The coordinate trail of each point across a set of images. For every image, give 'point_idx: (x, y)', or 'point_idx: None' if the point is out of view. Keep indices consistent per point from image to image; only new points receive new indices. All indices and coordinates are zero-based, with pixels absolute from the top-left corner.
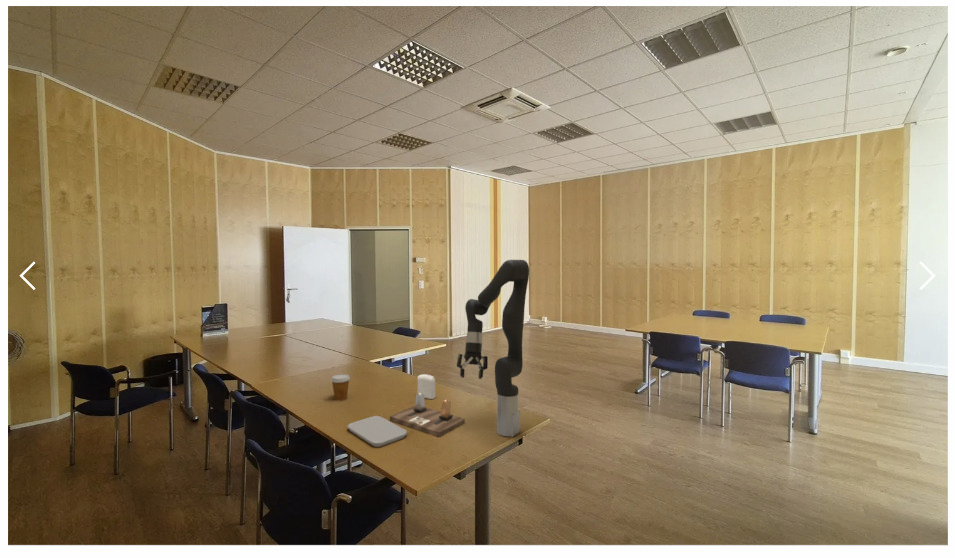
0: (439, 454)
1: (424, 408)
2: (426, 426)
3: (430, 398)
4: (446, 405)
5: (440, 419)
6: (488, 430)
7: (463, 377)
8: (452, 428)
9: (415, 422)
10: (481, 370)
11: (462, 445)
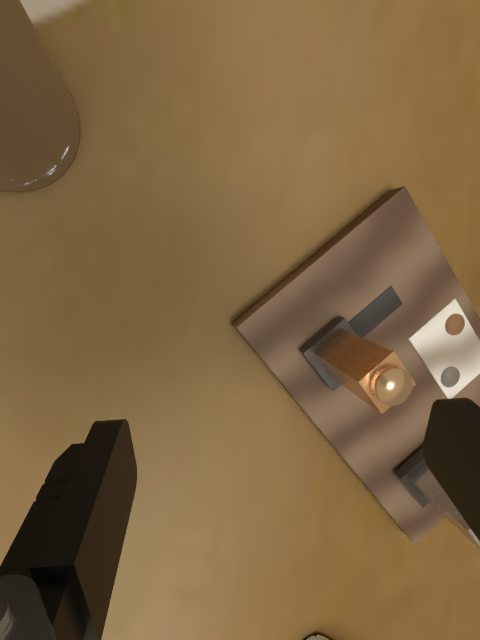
0: (434, 4)
1: (412, 469)
2: (439, 278)
3: (322, 636)
4: (383, 348)
5: None
6: (125, 186)
7: (440, 401)
8: (314, 255)
9: (473, 333)
10: (44, 584)
11: (312, 53)
